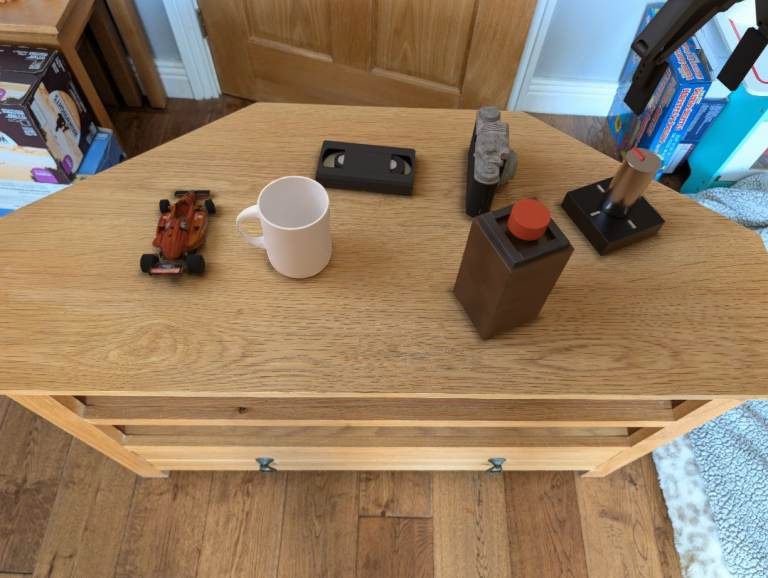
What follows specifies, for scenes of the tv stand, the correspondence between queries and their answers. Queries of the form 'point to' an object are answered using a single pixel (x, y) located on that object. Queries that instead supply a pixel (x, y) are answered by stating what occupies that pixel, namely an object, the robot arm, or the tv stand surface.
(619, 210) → the dial
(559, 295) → the tv stand surface
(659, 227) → the dial panel
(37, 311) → the tv stand surface
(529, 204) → the press knob
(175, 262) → the toy car
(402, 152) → the vhs tape
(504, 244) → the pillar
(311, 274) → the mug
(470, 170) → the camera
